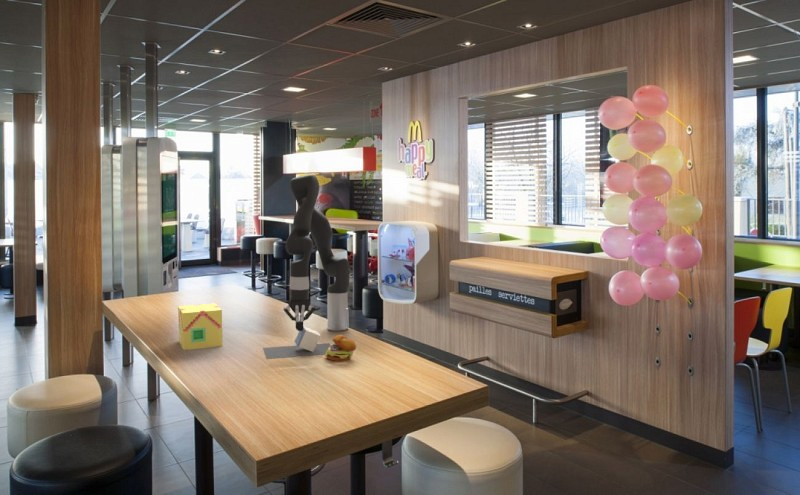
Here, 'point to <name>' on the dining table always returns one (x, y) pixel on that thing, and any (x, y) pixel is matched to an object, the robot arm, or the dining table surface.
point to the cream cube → (307, 339)
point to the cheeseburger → (340, 349)
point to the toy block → (200, 326)
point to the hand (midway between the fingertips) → (299, 330)
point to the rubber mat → (294, 351)
